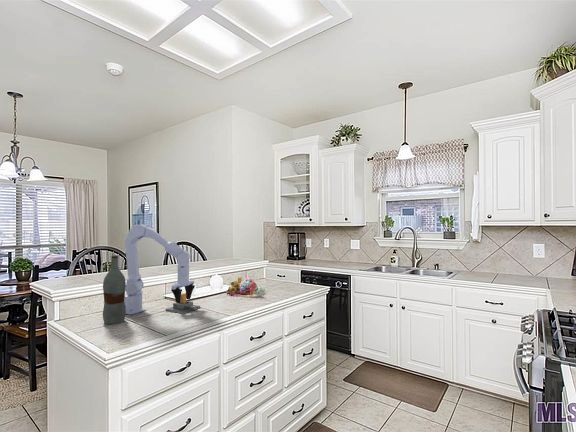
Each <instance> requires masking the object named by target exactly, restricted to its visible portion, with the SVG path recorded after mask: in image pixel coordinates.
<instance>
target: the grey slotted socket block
mask: <svg viewBox="0 0 576 432" xmlns="http://www.w3.org/2000/svg"><path fill="white" fill-rule="evenodd" d="M172 305H173V306H171V307H167V308H165V312H170V313H177V314H184V315H185V314H188V313H191V312H192V311H195V310H198V309H200V308H201V305H195V304H194V301H190V300H186V304H180V303H176V302H174V303H172Z"/></svg>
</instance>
